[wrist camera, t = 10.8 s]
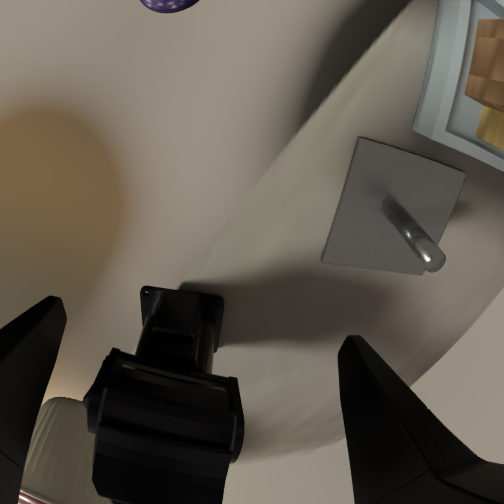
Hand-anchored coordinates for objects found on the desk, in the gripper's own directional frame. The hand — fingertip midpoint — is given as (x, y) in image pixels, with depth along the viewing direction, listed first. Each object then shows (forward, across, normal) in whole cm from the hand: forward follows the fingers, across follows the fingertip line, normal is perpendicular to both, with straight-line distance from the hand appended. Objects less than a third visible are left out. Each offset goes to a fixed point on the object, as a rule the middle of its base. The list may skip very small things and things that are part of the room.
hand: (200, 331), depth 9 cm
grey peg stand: (+12, -12, 0) cm, 17 cm away
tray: (+12, -17, -12) cm, 24 cm away
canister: (+12, +16, +36) cm, 42 cm away
